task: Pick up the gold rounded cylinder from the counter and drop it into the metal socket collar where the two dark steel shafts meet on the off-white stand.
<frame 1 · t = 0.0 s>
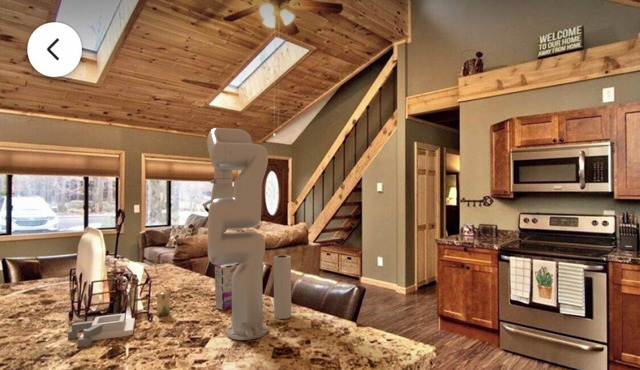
hand: (223, 222, 157), 31 cm above the kitchen island, tool pointing down, fingers open, 9 cm apart
candy bar box: (230, 306, 142), on the kitchen island
shaft stand: (109, 331, 117), on the kitchen island
paper towel roll: (283, 316, 130), on the kitchen island
gold rounded cylinder: (163, 315, 133), on the kitchen island
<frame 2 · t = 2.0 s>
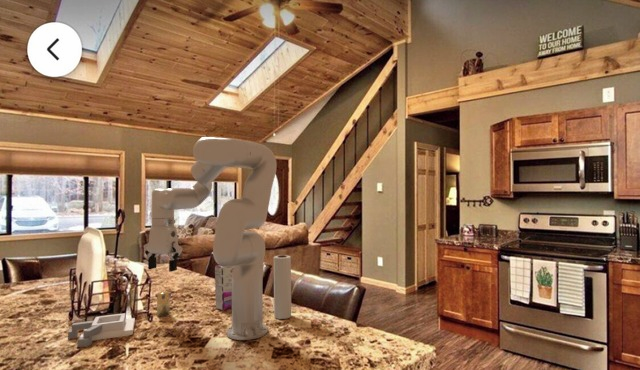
hand: (162, 269, 133), 16 cm above the kitchen island, tool pointing down, fingers open, 9 cm apart
nothing on the kitchen island moved.
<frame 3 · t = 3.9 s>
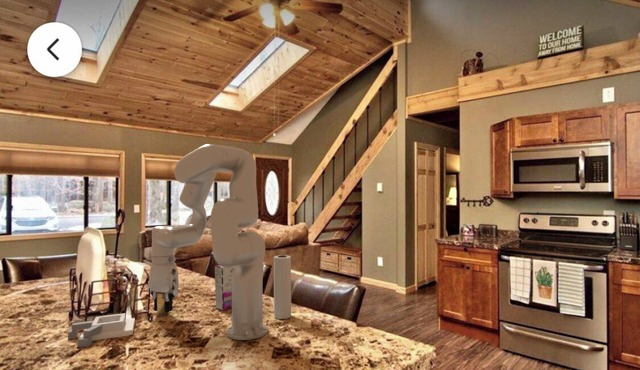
hand: (163, 310, 133), 2 cm above the kitchen island, tool pointing down, fingers closed on gold rounded cylinder, 4 cm apart
gold rounded cylinder: (163, 315, 133), on the kitchen island, touching gripper
everything else where it was.
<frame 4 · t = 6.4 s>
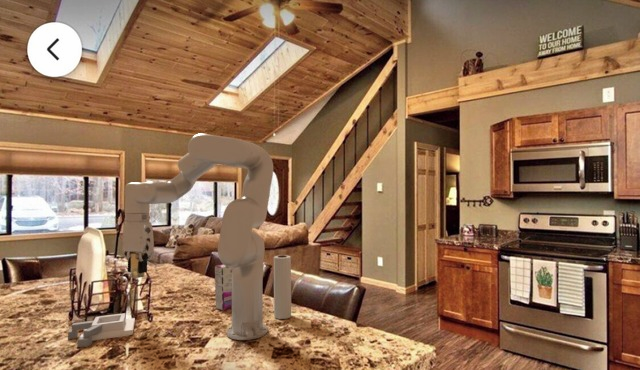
hand: (137, 271, 125), 17 cm above the kitchen island, tool pointing down, fingers closed on gold rounded cylinder, 4 cm apart
gold rounded cylinder: (137, 276, 125), point 16 cm above the kitchen island, touching gripper
everything else where it was.
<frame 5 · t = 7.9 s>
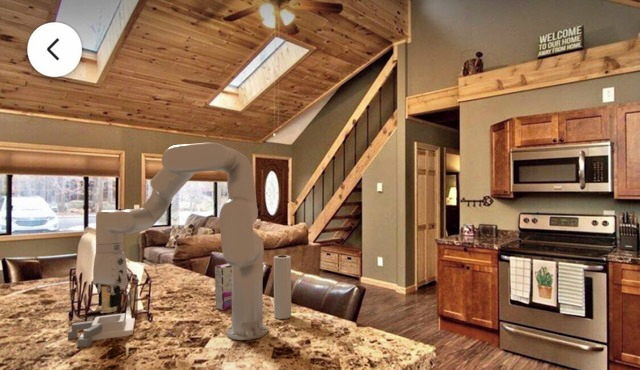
hand: (109, 305, 117), 8 cm above the kitchen island, tool pointing down, fingers closed on gold rounded cylinder, 4 cm apart
gold rounded cylinder: (109, 310, 117), point 7 cm above the kitchen island, touching gripper
everything else where it was.
when the fingers open (5 cm above the kitchen island, at t = 9.0 s): gold rounded cylinder drops 1 cm, resting on shaft stand.
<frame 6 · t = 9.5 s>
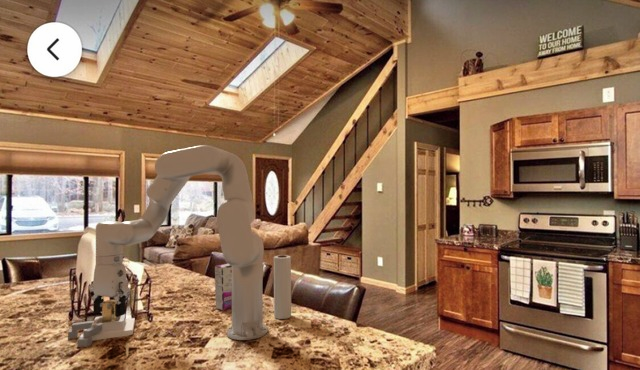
hand: (109, 313, 117), 6 cm above the kitchen island, tool pointing down, fingers open, 9 cm apart
gold rounded cylinder: (109, 326, 117), point 2 cm above the kitchen island, touching shaft stand
everything else where it was.
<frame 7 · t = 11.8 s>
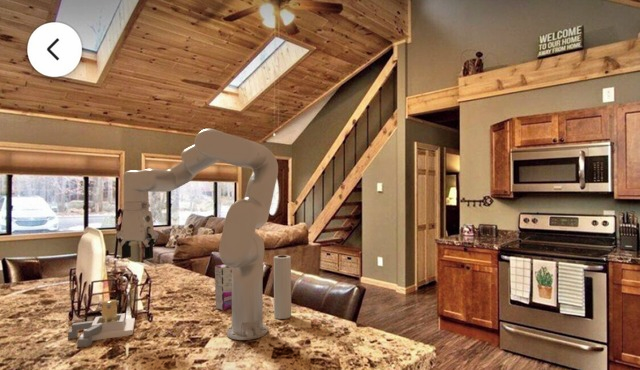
hand: (137, 258, 123), 22 cm above the kitchen island, tool pointing down, fingers open, 9 cm apart
nothing on the kitchen island moved.
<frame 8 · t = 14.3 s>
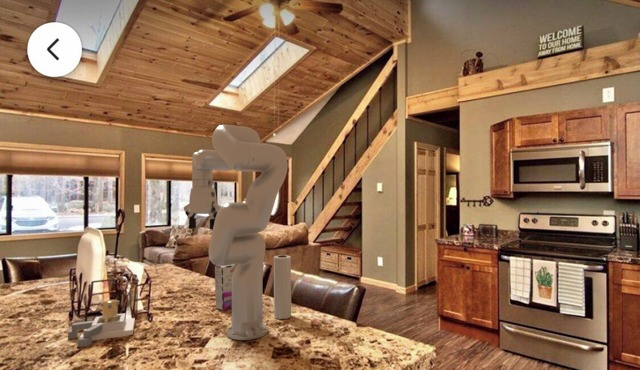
hand: (202, 228, 141), 30 cm above the kitchen island, tool pointing down, fingers open, 9 cm apart
nothing on the kitchen island moved.
at the end: gold rounded cylinder 0.1 cm off-centre on the shaft stand, point 1.5 cm above the shaft stand's base; gold rounded cylinder tilted 1°; the gripper is holding nothing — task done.
